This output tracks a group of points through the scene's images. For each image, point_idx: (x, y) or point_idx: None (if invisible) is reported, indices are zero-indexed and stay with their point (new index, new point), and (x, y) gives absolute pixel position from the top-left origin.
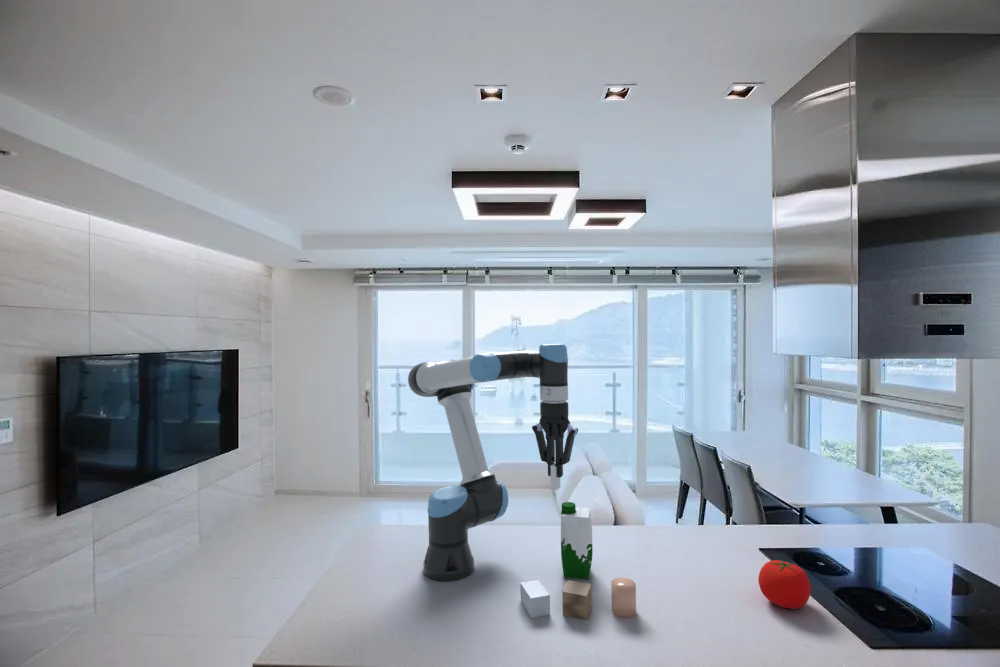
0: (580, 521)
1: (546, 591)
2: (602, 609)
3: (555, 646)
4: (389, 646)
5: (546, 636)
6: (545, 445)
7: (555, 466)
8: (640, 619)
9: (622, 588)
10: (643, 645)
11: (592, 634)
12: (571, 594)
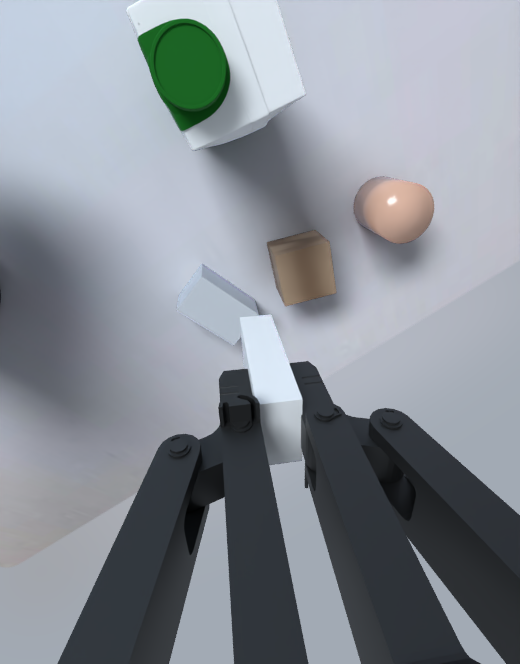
0: (269, 116)
1: (246, 307)
2: (337, 224)
3: None
4: (104, 488)
5: None
6: (163, 579)
7: (300, 458)
8: None
9: (407, 237)
10: (428, 285)
11: (345, 306)
12: (304, 300)
